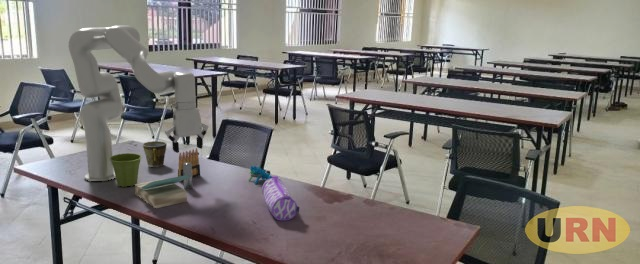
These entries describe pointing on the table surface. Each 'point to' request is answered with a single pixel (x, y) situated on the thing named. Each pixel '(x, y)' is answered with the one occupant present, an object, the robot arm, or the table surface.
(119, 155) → the plant pot
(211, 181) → the table surface
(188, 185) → the steel pin
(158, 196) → the block
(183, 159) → the ammunition clip
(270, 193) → the pencil case
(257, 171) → the gear
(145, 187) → the teal square plate
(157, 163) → the ceramic cup
